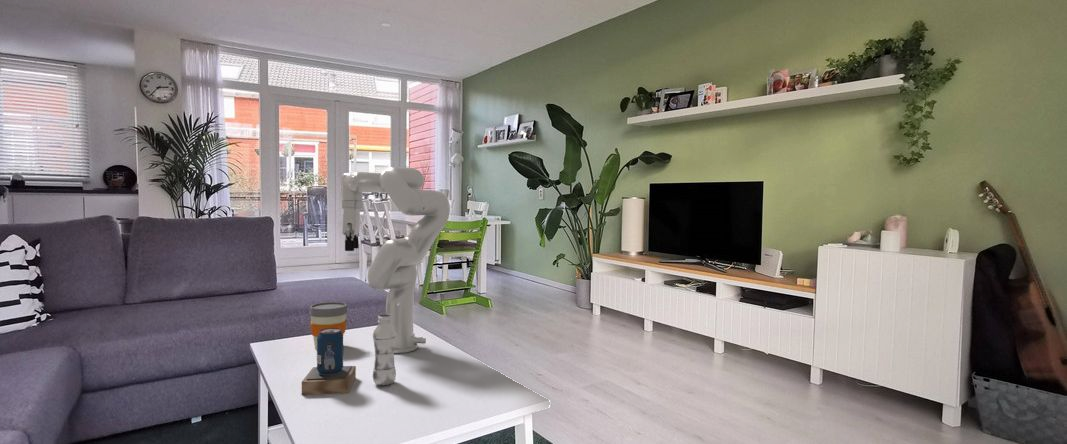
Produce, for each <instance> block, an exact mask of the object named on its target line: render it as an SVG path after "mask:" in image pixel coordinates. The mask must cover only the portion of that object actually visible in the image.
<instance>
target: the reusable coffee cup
mask: <svg viewBox="0 0 1067 444" xmlns="http://www.w3.org/2000/svg"><path fill="white" fill-rule="evenodd" d="M347 306H348V305H347V303H345V302H339V301H328V302H327V301H326V302H319V303H318V302H317V303H315V304H312V305H311V304H310V307H309V312H308V313H309V316H310V320H311V321H310V322H309V323H310V330H311V331H310V332H311V336H313V345H314V349H315V350H316V351H317V336H318V335H319V331H320V330H322V329H326V328H339V329H341V332H342V334H343V335H344V334H345V333H346V328H347V326H346V325H347V318H346V317H347V314H348V307H347Z"/></svg>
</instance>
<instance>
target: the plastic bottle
mask: <svg viewBox="0 0 1067 444" xmlns="http://www.w3.org/2000/svg"><path fill="white" fill-rule="evenodd" d="M390 322H392V320H391V315H389V314H386V313H385V314H378V316H377V323H378V324H377V326H376V327H375V329H374V330H373V333H372V339H373V340H372V341H373V346H374V367H373V371H372V380H373V383H374V384H375V385H377V386H388V385H391V384H394V382H395V381H396V377H397V371H396V370H397V369H396V365H395V353H394V345H395V338H396V332H395V329H394V327H393V326H392V325H391V323H390Z"/></svg>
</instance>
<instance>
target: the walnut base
mask: <svg viewBox="0 0 1067 444" xmlns="http://www.w3.org/2000/svg"><path fill="white" fill-rule="evenodd" d="M356 366H357V365H343V368H342V370H341V371H340V372H339V373H337V374H334V375H321V374H320V373H319V372H318V370H317V366H313V367H312V368H311V369H310V371H309V372H308V373H307V374H306V376H305V377H304V378H303V379H302V380H301V396H303V395H304V396H305V395H306V396H308V395H324V394H325V395H330V394H331V395H332V394H334V395H335V394H348V393H349V391H350V390H351V388H352V386H353V384H354V382H355V379H356V377H357V374H356V373H357V372H356V371H357V370H356V369H357V367H356Z"/></svg>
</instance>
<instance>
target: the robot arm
mask: <svg viewBox="0 0 1067 444" xmlns="http://www.w3.org/2000/svg"><path fill="white" fill-rule="evenodd" d="M424 184H425V176H424V175H423V173H422V172H421V171H420V170H418V169H416V168H414V167H413V168H412V167H405V166H404V167H402V166H391V167H390V166H389V167H388V168H386V169H385V170H383V171H382V172H381V173H380V172H368V171H355V172H345V173H343V174H342V175H341V209H342V210H343V214H342V227H341V228H342V229H341V230H342V231H341V233H342V235H343V236H344V237H345V238H344V251H345V252H354V251H355V249H359V246H360V243H359V239H360V238H359V234H360V228H361V227H360V225H361V223H360V222H361V221H360V220H361V217H360V216H361V215H360V213H361V212H360V211H361V210H363V193H377V194H378V193H382V194H383V193H386V194H387V195H388V197H389V198H390V199H391V200H392V202H393V203H394V205H395V206H396V208H397V209H398V210H399V212H401V213H402V214H403V215H405V216H409V217H410V216H423V217H422V218H421V219H420V220H418V221H417V222H416V223H415V224H414V225H413V226H412V227H411V230H410V232H409V234H408V235H407V236H406V237H401V238H391V239H389V240H386V241H385V242H384V243H383V244H382V245H381V246H380V248H379V250H378V251H377V254H376V256H374V259H373V261H372V263H371V264H370V266H369V269H368V270H367V271H368V272H367V284H368V285H369V287H370V288H372V289H373V290H376V291H385V290H389V291H388V293H387V295H386V300H385V314H389V315H391V320H392V322H390V323H391V325H392V326H393V327H394V329H395V332H396V338H395V345H394V354H405V353H409V352H412V351H413V352H414V351H415V350H417V349H418V347H419V346H418V345H419V344H421V345H422V344H423V345H424V344H427V337H423V336H418V337H417V336H415V335H416V334H415V333H414V305H415V303H414V302H415V301H414V299H415V289H416V283H417V278H418V277H417V276H418V271H417V267H416V265H418V264H420V263H422V262H423V260H424V259H425V257H426V255H427V254H428V252H429V250H430V249H431V247H432V246H433V244H434V242H435V241H436V239H437V238H438V236H439V234H440V233H441V231H442V230H443V229H444V227H445V226H446V224H447V222H448V221H449V217H450V211H451V206H450V201H449V199H448V197H447V195H446V194H444V193H443V192H441V191H438V190H432V189H422V188H423V186H424Z"/></svg>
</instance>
